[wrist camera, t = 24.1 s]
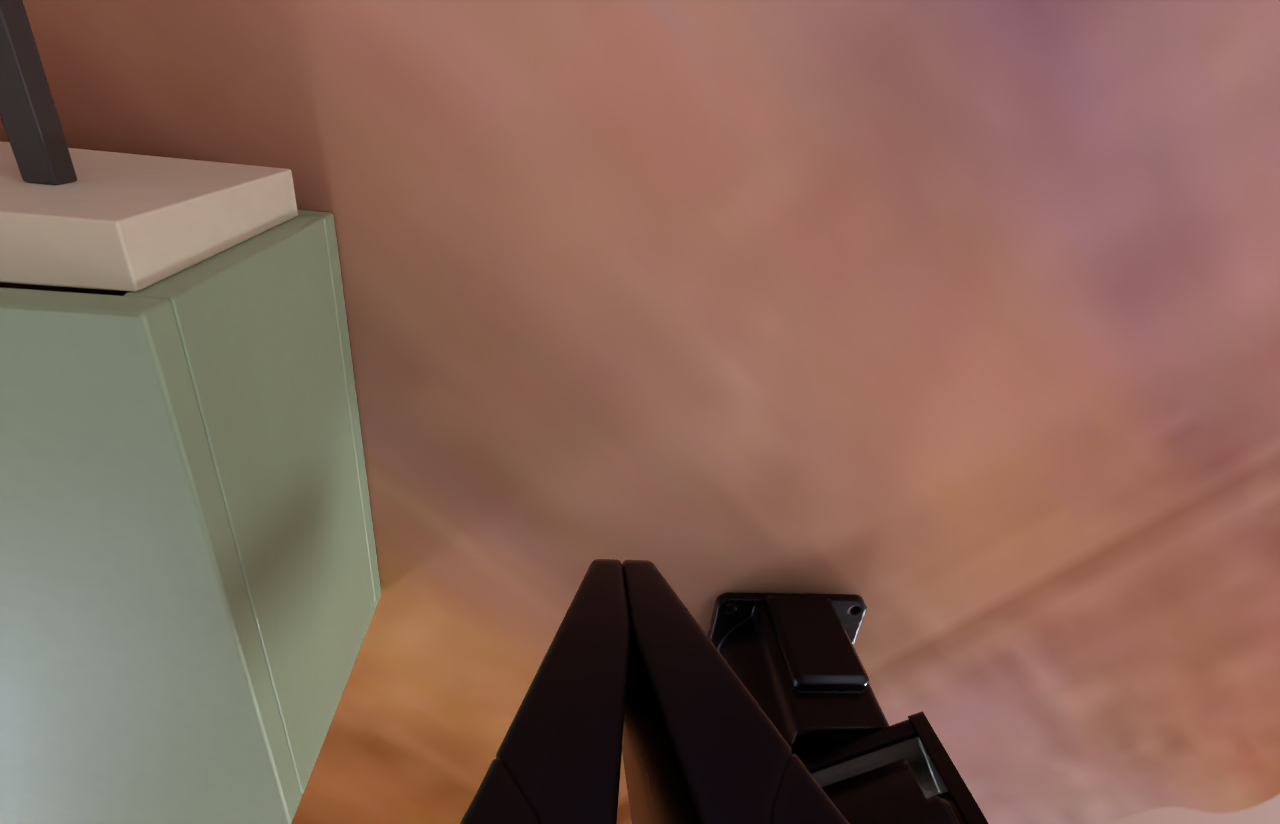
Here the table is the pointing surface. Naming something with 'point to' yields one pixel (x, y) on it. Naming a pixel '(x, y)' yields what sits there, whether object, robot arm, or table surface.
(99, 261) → the drawer
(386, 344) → the table surface
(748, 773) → the robot arm
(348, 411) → the cabinet
